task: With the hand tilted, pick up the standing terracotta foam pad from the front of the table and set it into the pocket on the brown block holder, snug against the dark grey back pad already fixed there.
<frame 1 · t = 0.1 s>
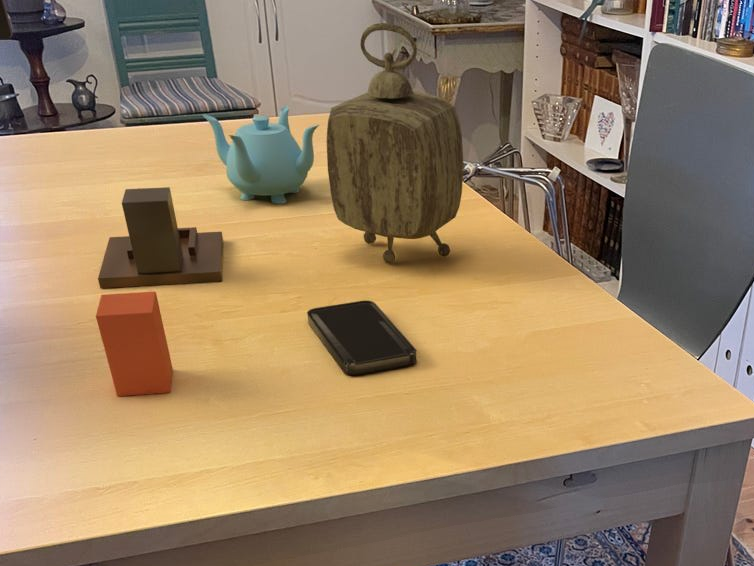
terracotta pad: (145, 382, 92), on the table
teapot: (271, 195, 137), on the table
phone: (361, 342, 100), on the table
brown block holder: (165, 263, 116), on the table
tabletop clock: (396, 259, 118), on the table
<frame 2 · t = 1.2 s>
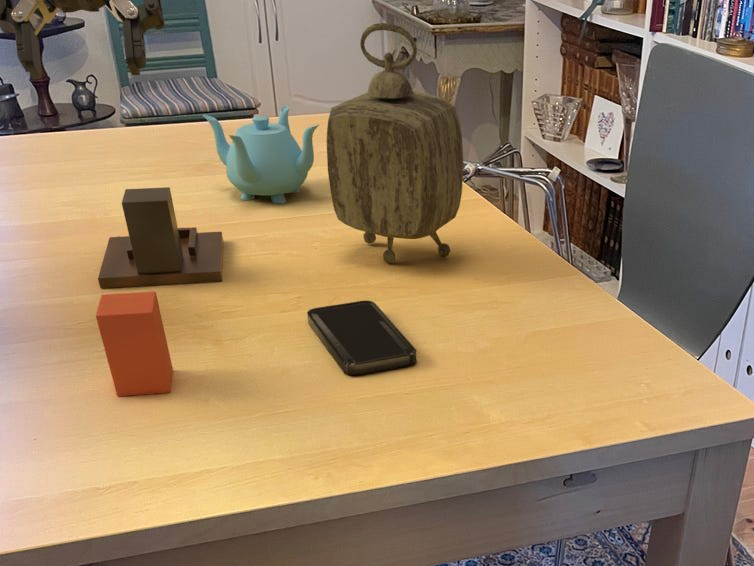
hand: (84, 71, 83), 25 cm above the table, tool tilted 45°, fingers open, 8 cm apart
nothing on the table moved.
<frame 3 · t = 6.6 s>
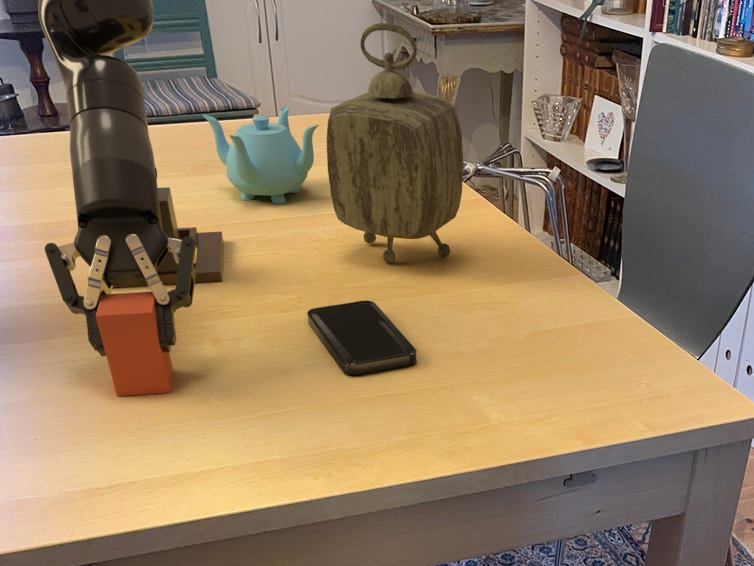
hand: (134, 350, 88), 4 cm above the table, tool tilted 45°, fingers closed on terracotta pad, 5 cm apart
terracotta pad: (145, 382, 92), on the table, touching gripper
everything else where it was.
when the fingers open (5 cm above the table, at t = 18.8 s): terracotta pad stays where it is, resting on brown block holder.
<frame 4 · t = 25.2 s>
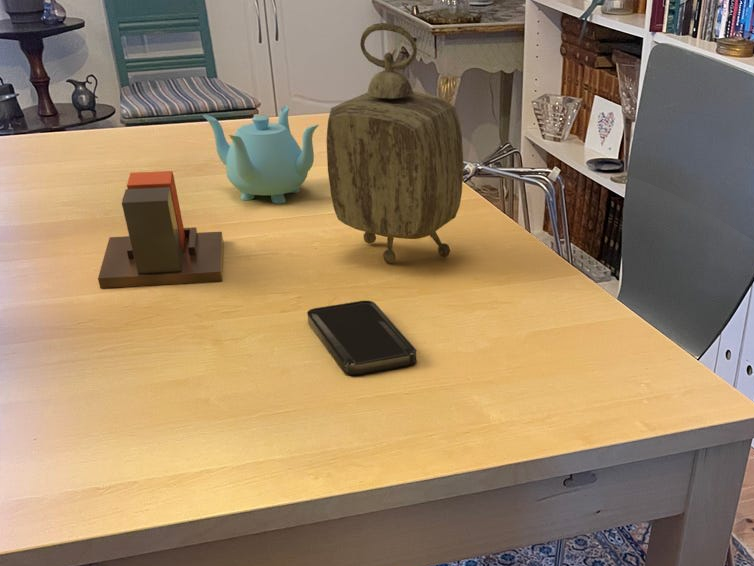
terracotta pad: (164, 246, 117), point 1 cm above the table, touching brown block holder
everything else where it was.
at the end: terracotta pad 0.1 cm from the target spot on the brown block holder, point 1.2 cm above the brown block holder's base; terracotta pad tilted 0°; the gripper is holding nothing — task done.
